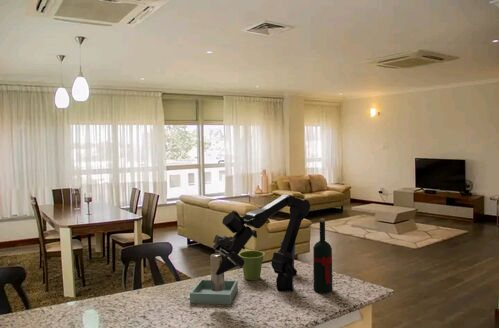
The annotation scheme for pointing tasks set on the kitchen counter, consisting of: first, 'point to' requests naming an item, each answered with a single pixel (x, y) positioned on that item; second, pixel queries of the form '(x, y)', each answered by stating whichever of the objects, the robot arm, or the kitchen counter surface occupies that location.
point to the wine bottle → (322, 263)
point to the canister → (216, 280)
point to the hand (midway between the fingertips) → (214, 272)
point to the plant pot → (252, 264)
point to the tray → (213, 293)
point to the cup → (292, 253)
